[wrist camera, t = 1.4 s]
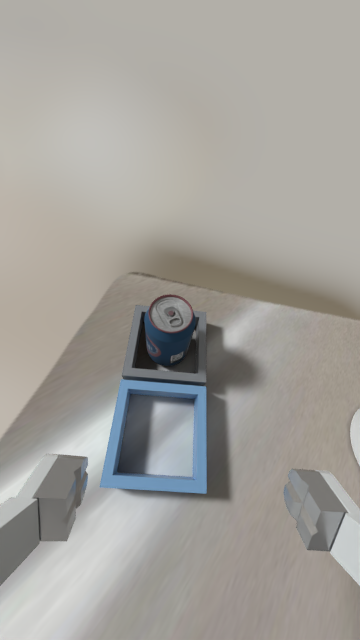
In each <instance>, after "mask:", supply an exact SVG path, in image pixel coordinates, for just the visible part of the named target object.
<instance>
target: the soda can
mask: <svg viewBox="0 0 360 640" xmlns="http://www.w3.org/2000/svg"><path fill="white" fill-rule="evenodd" d="M144 322H145V332H146V343H147V351H148V354H149V356H150V357H151V359H152V360H153V361H155V362H156V363H158V364H160V365H164V366H171V365H175V364H177V363H179V362H181V361H182V360H183V359H184V357H185V356H186V354H187V351H188V348H189V344H190V341H191V338H192V335H193V331H194V328H195V324H196V319H195V315H194V312H193V310H192V307H191V305H190V304H189V303H188V301H186V300H185V299H184V298H182V297H180V296H177V295H163V296H160V297H158V298H157V299H155V300H154V301H153V302H152V304H151V305H150V307H149V308H148V310H147V311H146V314H145V318H144Z"/></svg>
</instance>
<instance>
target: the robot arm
mask: <svg viewBox="0 0 360 640" xmlns="http://www.w3.org/2000/svg"><path fill="white" fill-rule="evenodd" d="M350 436H351V443H352V448H353V451H354V454H355V457H356V459H357V462H358V464H359V466H360V408H359V409H358V410H357V412H356V413H355V415H354V416H353V419H352V422H351V428H350ZM87 465H88V458H87V457H82V456H71V455H57V454H46V455H45V456H44V457H42V459H41V460H40V462H39V463H38V465H37V466H36V468H35V469H34V471H33V472H32V474H31V475H30V477H29V478H28V480H27V481H26V483H25V484H24V486H23V487H22V489H21V490H20V492H19V493H18V495H17V496H16V498H15V497H11V498H9V499H8V500H7V501H5V502H4V503H2V504H1V505H0V586H1V585H2V583H3V582H4V581H5V580H6V579H7V578H8V577H9V576H10V575H11V574H12V573H13V572H14V570H15V569H16V568H17V567H18V566H19V565H20V564H21V563H22V562H23V561H24V560H25V559H26V558H27V556H28V555H29V554H30V553H31V552H32V551H33V550H34V549H35V548H36V547H37V546H38V545H39V543H40V541H67V539H68V537H69V534H70V532H71V529H72V526H73V524H74V521H75V519H76V508H78V507H79V506H80V505H81V503H82V500H83V497H84V494H85V490H86V486H87V479H88V474H87V473H86V471H85V470H86V468H87ZM288 477H289V479H290V481H289V482H288V483H287V484H286V485H285V488H284V500H285V503H286V507H287V509H288V511H289V513H290V515H291V516H292V517H293V518H294V519H295V520H296V521H297V526H296V528H297V530H298V532H299V534H300V536H301V538H302V541H303V543H304V545H305V547H306V549H307V550H317V551H331V552H330V554H331V555H332V556H333V557H334V558H335V559H336V560H337V561H338V562H339V563H340V565H341V566H342V567H343V568H344V569H345V570H346V571H347V572H348V573H349V575H350V576H351V577H352V578H353V579H354V580H355V581H356V582H357V583H358V584H359V586H360V509H359V508H358V507H357V505H356V504H355V503H354V501H353V500H352V499H351V498H350V496H349V495H348V494H347V492H346V491H345V490H344V489H343V487H342V486H341V485H340V483H339V482H338V481H337V479H336V478H335V477H334V476H333V474H332V473H330V472H329V471H321V470H304V469H291V470H290V471H289V474H288Z"/></svg>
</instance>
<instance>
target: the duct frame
mask: <svg viewBox="0 0 360 640" xmlns="http://www.w3.org/2000/svg"><path fill="white" fill-rule="evenodd" d="M149 307H150V306H141V305H136V306H135V311H134V316H133V322H132V327H131V332H130V337H129V342H128V347H127V352H126V357H125V362H124V367H123V372H122V377H123V379H124V380H122V379H121V382H120V387H119V392H118V397H117V402H116V407H115V412H114V417H113V422H112V427H111V432H110V437H109V442H108V447H107V452H106V457H105V463H104V468H103V473H102V478H101V483H100V487H104V488H120V489H137V490H154V491H171V492H187V493H204V494H207V458H206V386H204V385H205V384H206V312H200V311H193V312H194V315H195V319H196V324H195V327H196V356H195V373H184V372H172V371H161V370H149V369H138V368H135V364H136V358H137V353H138V347H139V341H140V335H141V329H142V323H143V322H144V318H145V314H146V311H147V310H148V308H149ZM130 394H138V395H150V396H162V397H175V398H187V399H194V437H193V477H182V476H166V475H151V474H135V473H119V472H117V470H118V464H119V458H120V452H121V446H122V441H123V435H124V429H125V423H126V417H127V411H128V405H129V399H130Z"/></svg>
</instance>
